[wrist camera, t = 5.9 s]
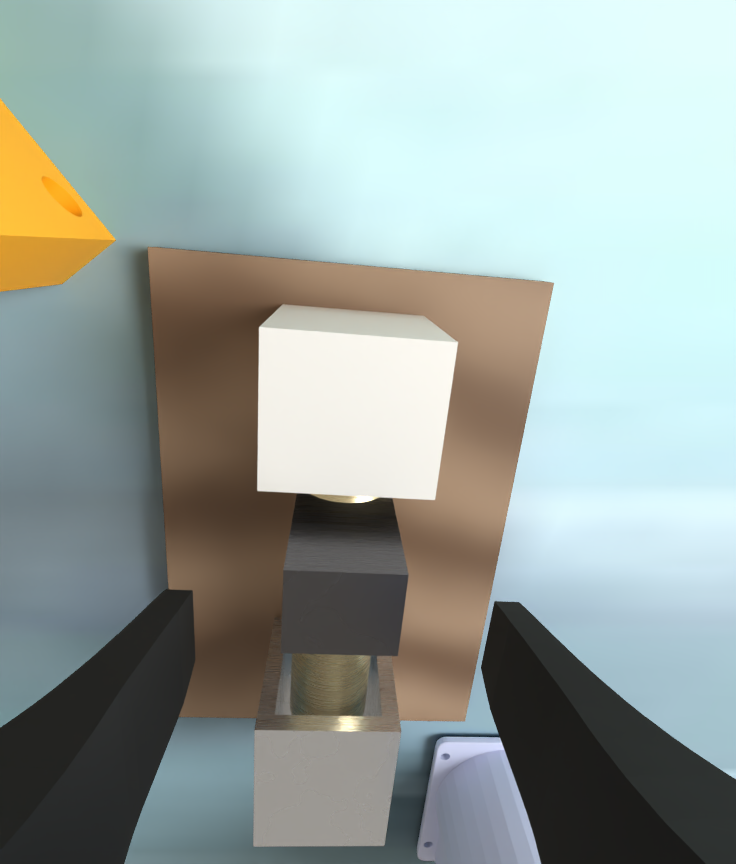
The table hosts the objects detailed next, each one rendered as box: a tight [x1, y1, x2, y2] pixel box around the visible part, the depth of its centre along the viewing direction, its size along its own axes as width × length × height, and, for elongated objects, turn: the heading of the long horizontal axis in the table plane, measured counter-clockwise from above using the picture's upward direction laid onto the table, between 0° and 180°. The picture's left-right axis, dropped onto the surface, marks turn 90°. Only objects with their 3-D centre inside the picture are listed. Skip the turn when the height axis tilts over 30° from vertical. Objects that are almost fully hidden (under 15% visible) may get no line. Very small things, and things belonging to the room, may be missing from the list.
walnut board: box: [148, 247, 554, 721], centre depth 21 cm, size 21×14×1 cm, turn 175°
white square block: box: [257, 304, 458, 500], centre depth 16 cm, size 4×5×6 cm
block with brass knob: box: [281, 493, 409, 716], centre depth 16 cm, size 14×3×7 cm, turn 175°
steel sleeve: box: [253, 617, 401, 847], centre depth 21 cm, size 6×5×6 cm
